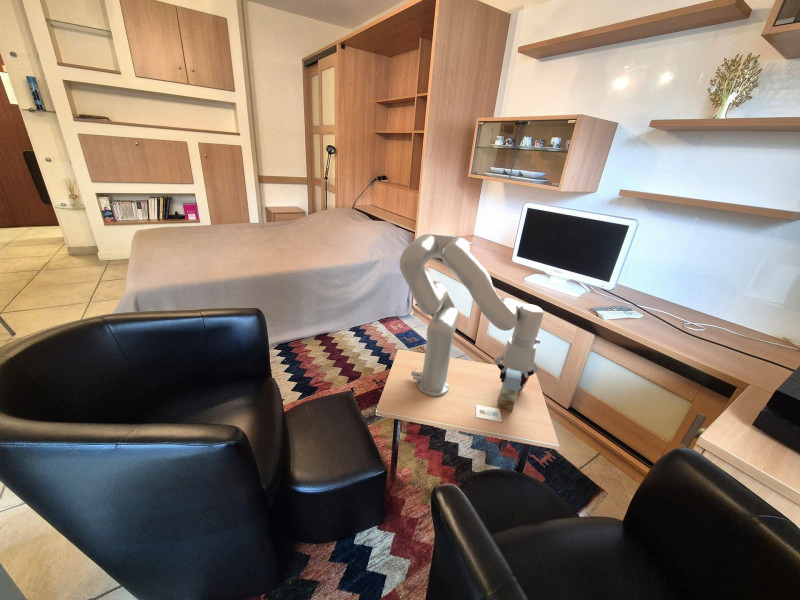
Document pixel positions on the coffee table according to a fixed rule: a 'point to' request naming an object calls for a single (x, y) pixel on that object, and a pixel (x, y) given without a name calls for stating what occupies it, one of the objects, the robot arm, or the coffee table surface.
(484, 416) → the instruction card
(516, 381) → the blue brick
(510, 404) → the tower base
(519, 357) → the robot arm
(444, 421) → the coffee table surface
